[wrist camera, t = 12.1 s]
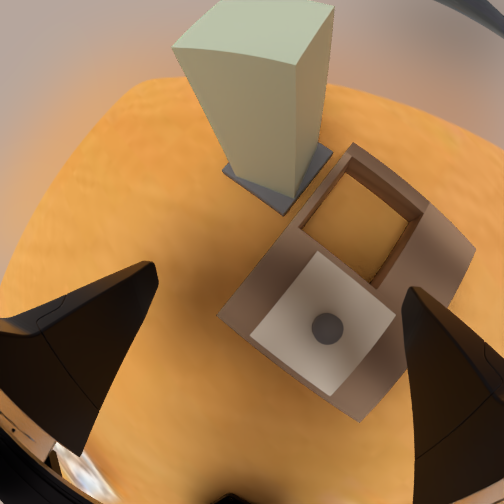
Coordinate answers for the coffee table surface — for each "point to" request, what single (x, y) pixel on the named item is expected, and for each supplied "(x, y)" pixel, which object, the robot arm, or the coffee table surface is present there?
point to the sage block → (262, 83)
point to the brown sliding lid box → (347, 294)
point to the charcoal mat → (278, 199)
